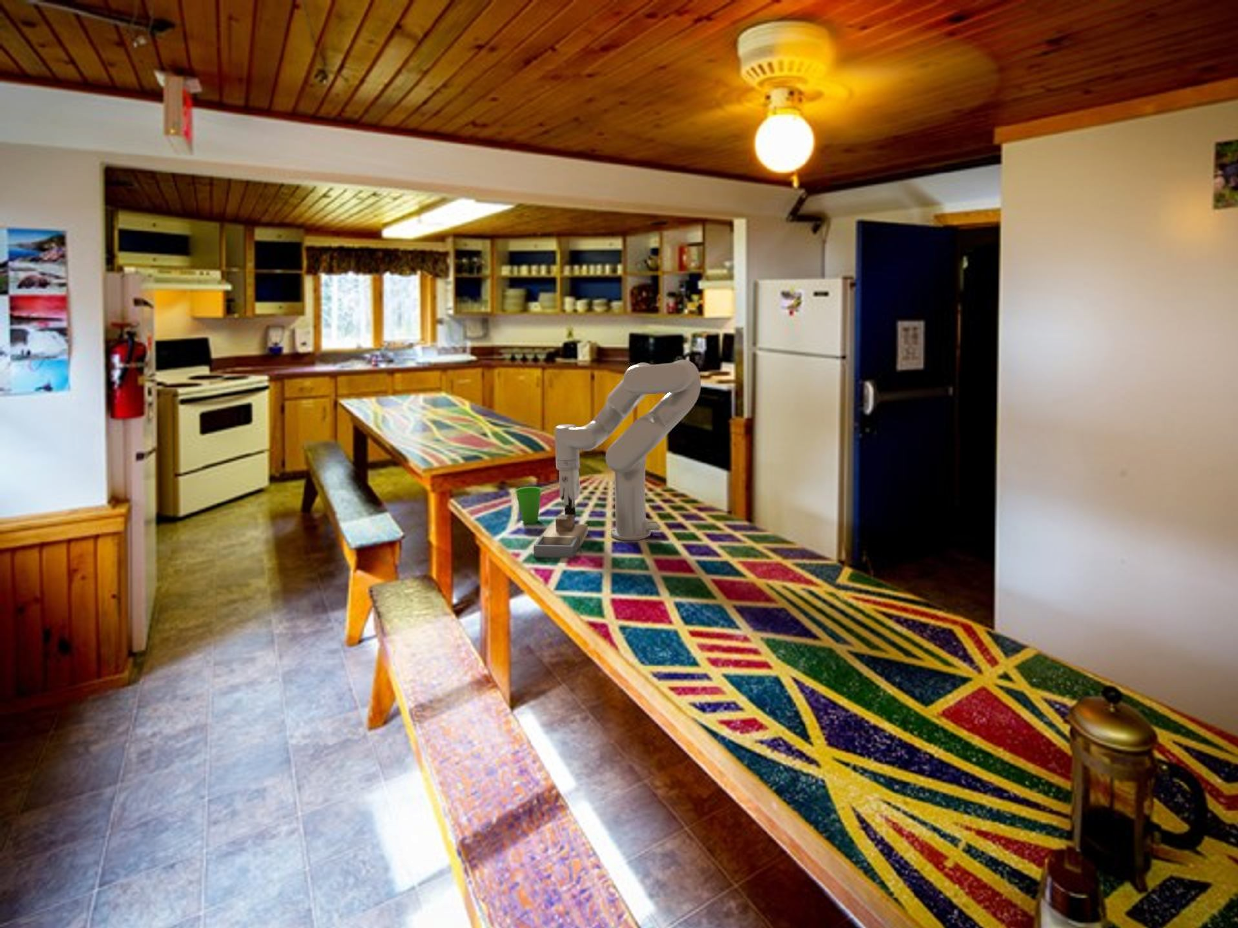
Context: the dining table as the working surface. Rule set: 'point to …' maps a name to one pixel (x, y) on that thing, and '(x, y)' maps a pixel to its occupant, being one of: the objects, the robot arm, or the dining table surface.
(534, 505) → the cup
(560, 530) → the block
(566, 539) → the board
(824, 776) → the dining table surface
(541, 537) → the bin
